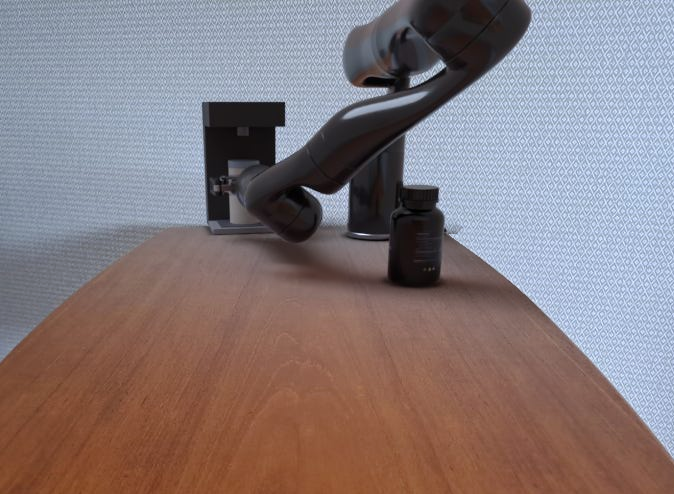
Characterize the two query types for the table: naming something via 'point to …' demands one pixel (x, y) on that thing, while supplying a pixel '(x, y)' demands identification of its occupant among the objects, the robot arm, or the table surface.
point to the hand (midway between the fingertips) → (247, 180)
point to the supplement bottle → (416, 237)
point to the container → (236, 209)
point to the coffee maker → (237, 151)
